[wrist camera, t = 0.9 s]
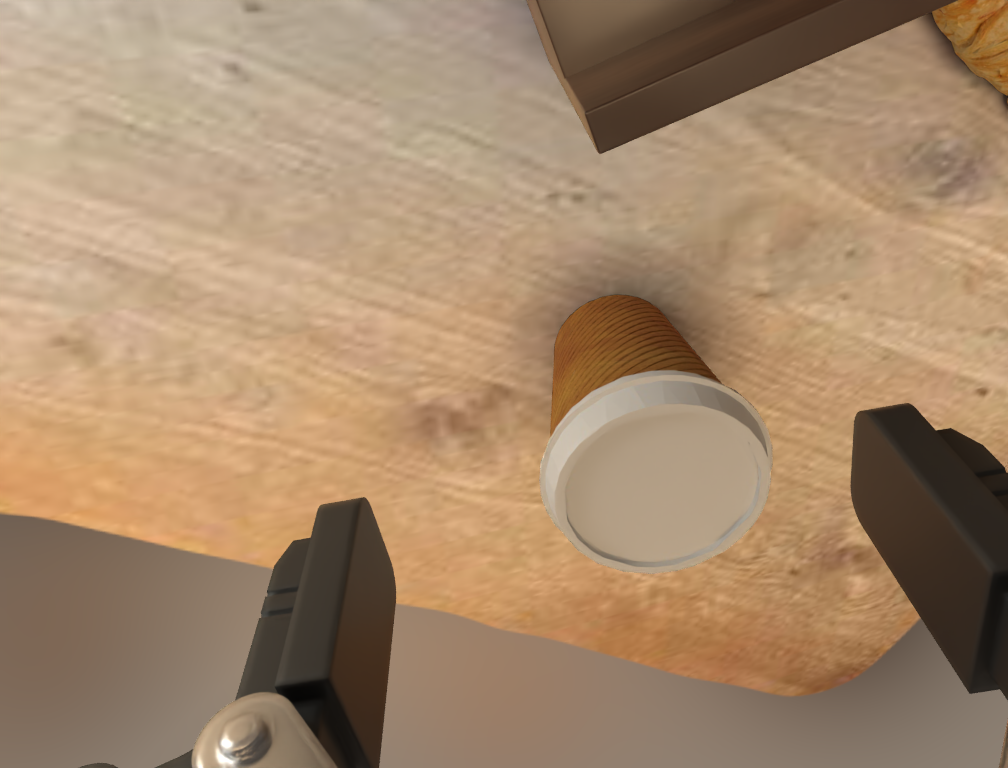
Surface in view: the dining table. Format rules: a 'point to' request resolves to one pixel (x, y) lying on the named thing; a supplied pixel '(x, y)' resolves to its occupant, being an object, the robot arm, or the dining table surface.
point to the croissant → (979, 37)
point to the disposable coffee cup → (647, 444)
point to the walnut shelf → (692, 51)
